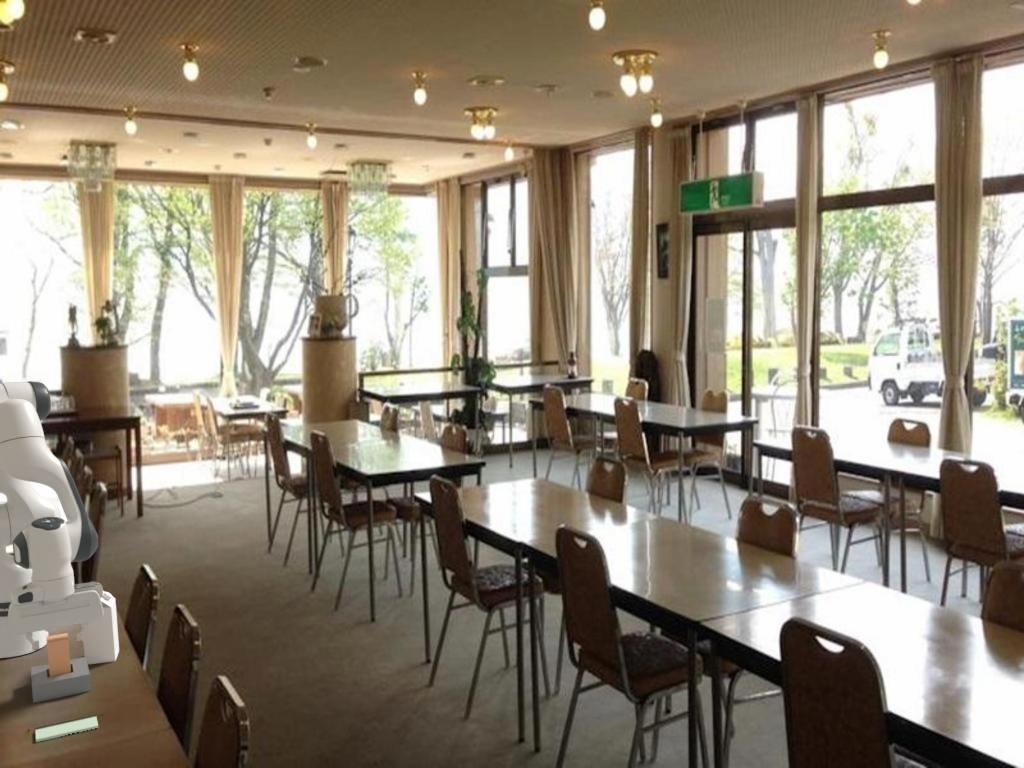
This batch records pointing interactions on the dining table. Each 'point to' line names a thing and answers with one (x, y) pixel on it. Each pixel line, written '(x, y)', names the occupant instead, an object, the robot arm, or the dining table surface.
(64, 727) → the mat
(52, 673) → the block
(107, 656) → the milk carton
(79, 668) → the holder
